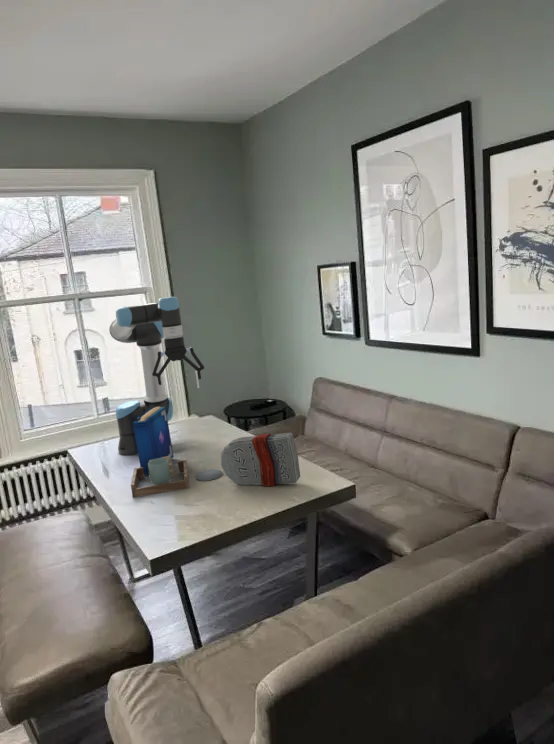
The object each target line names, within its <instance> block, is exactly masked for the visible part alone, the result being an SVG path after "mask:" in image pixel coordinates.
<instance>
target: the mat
mask: <svg viewBox="0 0 554 744" xmlns="http://www.w3.org/2000/svg"><path fill="white" fill-rule="evenodd" d="M222 475H223V470H221V469H216V468H211V469H204V470H201V471H199V472H197V473H196V474H195V475H194V477H195V480H197V481H200V482H207V481H214V480H217V479H219V478H221V476H222Z"/></svg>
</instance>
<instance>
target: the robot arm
mask: <svg viewBox="0 0 554 744" xmlns="http://www.w3.org/2000/svg"><path fill="white" fill-rule="evenodd" d="M178 299H179V298H178V297H177V296H168V297H167V296H166V297H161V298H158V302H152V303H145V304H140V305H132V306H123V307H117V309H116V310H115V318H116V319H114V320H113V321H111V323H110V326H109V334H110V336H111V337H112V339H114V340H116V341H117V342H120V343H123V344H124V343H125V344H131V343H136V346H137V347H139V349H140V354H141V363H142V371H143V379H144V386H145V396H143V402H140V401H139V400H128V401H126V402H125V403H124V402H123V403H121V404H119V405H118V406H117V407H116V408H115V419H116V422H117V428H118V434H119V439H118V440H119V441H118V445H117V451H118V454H119V455H121V454H123V456H131V455H136V454H137V455H138V451H137V445H136V440H135V434H134V429H133V422H134V421H135V420H137V418H138V417H139V416H140V415H141V414H142V413H144V412H145V411H146V410H148V409H150V408H151V407H154V408H155V407H158V406H159V407H163V406H165V407H166V413H167V419H168V422H169V421H171V420H172V418H173V413H174V405H173V401H172V399H171V397H169V395H168V394H167V393H166V389H165V383H164V381H165V380H164V375H163V372H164V371H165V369H166V368H167V367H168V365H169V363H170V362H176V361H183V360H184V361H185V362H186V363H187V364H189V365H190V366H191V367H192V368H193V369H195V371H194V372H195V379H196V385H197V386H196V387H197V389H200V381H199V380H201V379H202V375H201V371H202V370H205V366H204V364H203V363H202V361H201V359H200V358H199V357H198V356H197V354H196V353H195V351H194V347H193V346H190V347H188V348H186V347H185V346H186V345H185V339H184V336H183V335H184V332H183V325H182V324H183V323H182V319H181V311H180V310H181V309H180V303H179V300H178ZM162 339H163V341H162ZM162 342H164V348H165V350H164V351H161V350H160V346H161V344H162ZM187 352H188V353H189V354H191V356H192V357H193V359H194V360H195V362H196V364H195V363H194V362H193V361H192V360H191V359H190V358H188V356H187V355H186V354H187ZM164 356H166V357H167V358H166V360H165V362H164V363H163V365H162V363H161V361H162V360H161V359H162V358H163V357H164ZM197 364H198V365H197Z"/></svg>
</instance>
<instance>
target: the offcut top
mask: <svg viewBox="0 0 554 744" xmlns="http://www.w3.org/2000/svg"><path fill="white" fill-rule="evenodd" d="M162 458H166V459H168V463H169V465H173V461H172V459H171V458H170V456H166V457H162ZM149 461H151V460H149Z"/></svg>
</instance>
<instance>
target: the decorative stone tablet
mask: <svg viewBox="0 0 554 744" xmlns="http://www.w3.org/2000/svg"><path fill="white" fill-rule="evenodd" d="M295 442H296V441H295V438H294V434H293V433H292V432H285V433H275V434H272V433H262V434H261V433H260V434H258V435H257V434H256V435H253V436H241V437H238V438H234V439H232V440H231V441H230V442H229V443H228V444H227V445H226V446H224V448H223V450H222V452H221V454H220V455H221V456H220V466H221V468H222V471H223V472H224V474H225V476H226V477H227V478H228V479H229V480H230V481H232V482H233V483H234V484H236V485H237V484H238V485H242V486H246V487H249V486H263V487H271V486H272V487H273V486H275V485H276V486H277V485H282V484H296V483H297V482H298V481H299V479H300V477H301V470H300V461H299V455H298V451H297V445H296V443H295ZM276 486H275V487H276Z"/></svg>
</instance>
